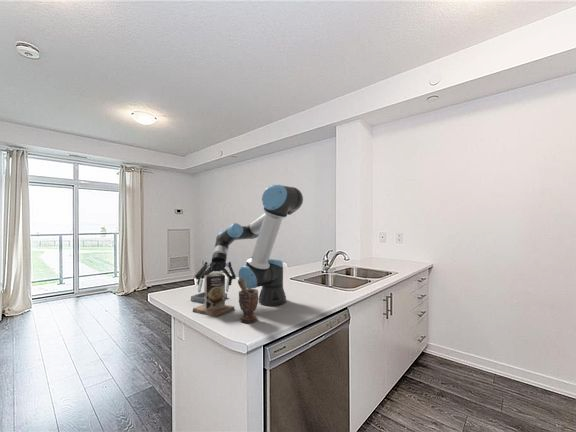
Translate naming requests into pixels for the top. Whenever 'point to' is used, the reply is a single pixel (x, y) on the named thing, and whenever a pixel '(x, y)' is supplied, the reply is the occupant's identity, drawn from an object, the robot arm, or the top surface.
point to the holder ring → (200, 297)
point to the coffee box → (214, 291)
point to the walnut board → (213, 312)
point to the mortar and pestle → (247, 302)
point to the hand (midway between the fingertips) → (212, 290)
